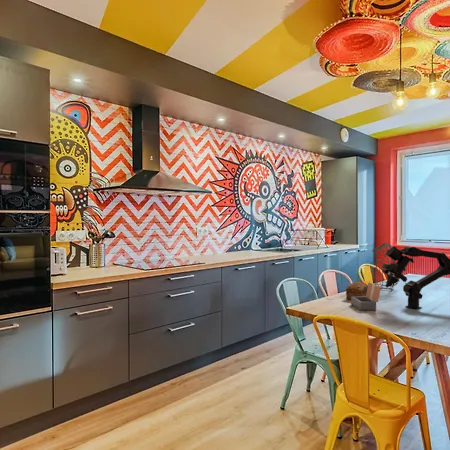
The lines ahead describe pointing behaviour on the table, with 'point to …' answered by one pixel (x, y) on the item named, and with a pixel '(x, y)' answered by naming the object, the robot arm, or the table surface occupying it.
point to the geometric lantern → (382, 263)
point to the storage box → (363, 303)
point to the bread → (356, 290)
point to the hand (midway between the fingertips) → (386, 287)
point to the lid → (373, 291)
